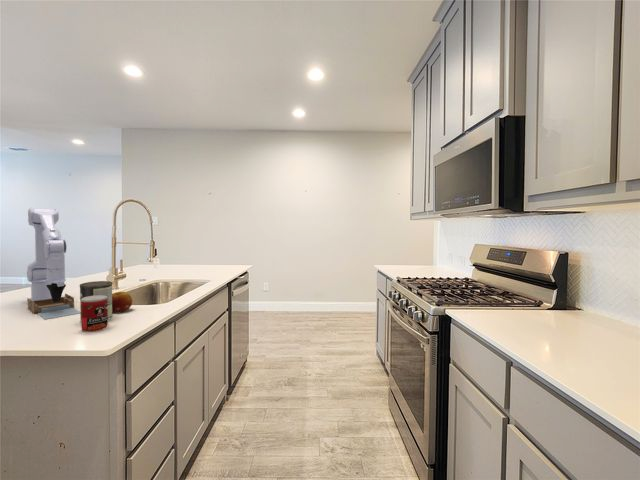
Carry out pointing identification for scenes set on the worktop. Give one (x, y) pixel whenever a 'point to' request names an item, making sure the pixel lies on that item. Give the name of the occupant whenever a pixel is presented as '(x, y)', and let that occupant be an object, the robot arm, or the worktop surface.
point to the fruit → (121, 301)
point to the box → (49, 303)
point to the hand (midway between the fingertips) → (56, 301)
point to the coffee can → (97, 292)
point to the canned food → (94, 313)
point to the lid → (57, 312)
